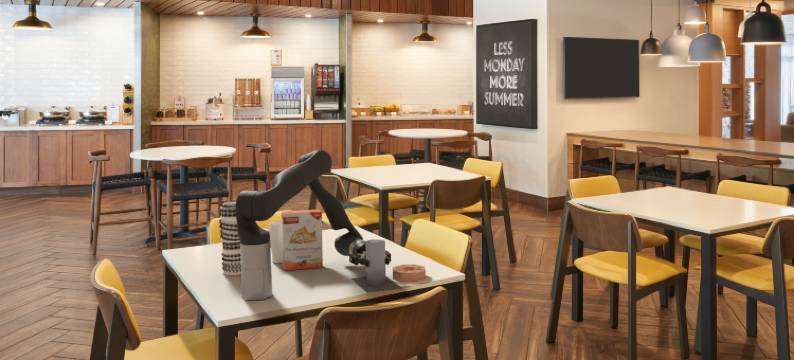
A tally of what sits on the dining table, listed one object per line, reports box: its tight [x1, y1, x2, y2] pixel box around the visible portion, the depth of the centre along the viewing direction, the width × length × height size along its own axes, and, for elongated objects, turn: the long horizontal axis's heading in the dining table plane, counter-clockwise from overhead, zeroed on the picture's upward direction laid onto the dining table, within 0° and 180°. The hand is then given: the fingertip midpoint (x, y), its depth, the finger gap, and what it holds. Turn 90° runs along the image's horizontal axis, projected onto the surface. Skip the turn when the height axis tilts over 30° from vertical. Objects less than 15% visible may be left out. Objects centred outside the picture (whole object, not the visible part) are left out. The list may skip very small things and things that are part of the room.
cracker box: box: [281, 209, 324, 271], centre depth 244 cm, size 14×6×21 cm, turn 105°
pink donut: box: [392, 263, 427, 283], centre depth 229 cm, size 11×11×4 cm
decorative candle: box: [218, 201, 241, 276], centre depth 240 cm, size 9×9×25 cm
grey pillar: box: [365, 238, 387, 286], centre depth 221 cm, size 6×6×14 cm
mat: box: [350, 275, 404, 294], centre depth 222 cm, size 18×12×1 cm, turn 21°
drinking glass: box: [268, 220, 283, 264], centre depth 253 cm, size 7×7×15 cm
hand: (378, 262), depth 219 cm, fingers closed on grey pillar, 6 cm apart
